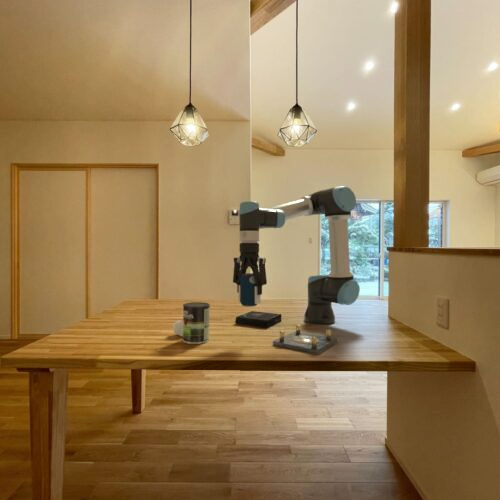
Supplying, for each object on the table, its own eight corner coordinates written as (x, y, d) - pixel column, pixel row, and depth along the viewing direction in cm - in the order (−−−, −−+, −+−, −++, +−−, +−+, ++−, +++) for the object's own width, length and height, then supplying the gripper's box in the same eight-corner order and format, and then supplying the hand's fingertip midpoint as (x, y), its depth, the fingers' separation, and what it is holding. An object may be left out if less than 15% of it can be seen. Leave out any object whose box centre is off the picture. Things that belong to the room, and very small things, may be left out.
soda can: (260, 306, 119) (260, 274, 119) (242, 307, 117) (242, 274, 117) (256, 303, 126) (256, 273, 126) (238, 304, 124) (238, 273, 124)
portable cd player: (250, 318, 166) (251, 310, 166) (281, 322, 158) (281, 314, 158) (235, 325, 152) (235, 316, 152) (267, 329, 144) (267, 320, 144)
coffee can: (192, 346, 117) (193, 307, 117) (177, 340, 124) (177, 304, 124) (214, 340, 124) (215, 304, 124) (199, 335, 131) (199, 301, 131)
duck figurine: (202, 339, 133) (204, 315, 140) (200, 332, 127) (202, 307, 134) (173, 339, 132) (177, 315, 139) (170, 332, 126) (174, 306, 133)
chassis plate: (295, 334, 133) (295, 322, 133) (337, 342, 122) (337, 329, 122) (272, 345, 118) (272, 331, 118) (317, 354, 108) (317, 340, 108)
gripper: (223, 242, 124) (223, 301, 124) (265, 241, 112) (265, 306, 113) (235, 242, 130) (235, 298, 130) (276, 242, 119) (276, 303, 119)
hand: (249, 302), depth 121 cm, fingers closed on soda can, 7 cm apart
